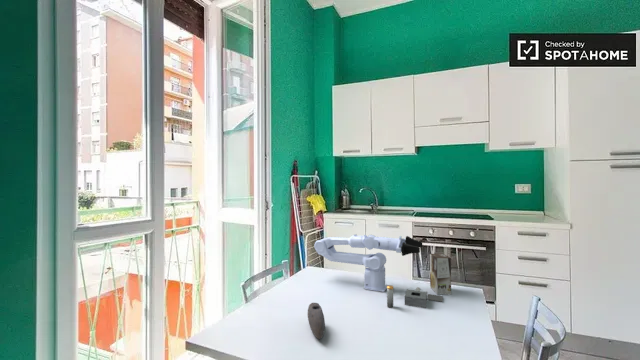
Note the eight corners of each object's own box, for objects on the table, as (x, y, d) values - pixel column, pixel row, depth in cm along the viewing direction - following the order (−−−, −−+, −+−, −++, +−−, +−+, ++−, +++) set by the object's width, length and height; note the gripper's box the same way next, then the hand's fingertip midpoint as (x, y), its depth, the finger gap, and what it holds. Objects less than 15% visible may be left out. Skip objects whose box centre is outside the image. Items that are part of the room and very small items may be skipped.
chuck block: (404, 304, 115) (404, 296, 115) (408, 291, 129) (408, 284, 129) (425, 308, 112) (425, 299, 112) (427, 294, 126) (427, 286, 126)
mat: (426, 300, 120) (426, 298, 120) (427, 295, 125) (427, 293, 125) (442, 302, 117) (442, 301, 117) (442, 297, 123) (442, 296, 123)
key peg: (386, 307, 113) (386, 286, 113) (387, 304, 115) (387, 284, 115) (392, 308, 112) (392, 287, 112) (394, 305, 114) (393, 285, 114)
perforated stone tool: (328, 343, 87) (328, 320, 88) (311, 344, 87) (311, 321, 87) (321, 320, 102) (321, 300, 102) (306, 321, 102) (306, 301, 102)
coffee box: (451, 294, 125) (451, 258, 126) (437, 294, 126) (436, 257, 126) (443, 287, 135) (443, 253, 135) (429, 287, 135) (429, 252, 135)
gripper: (385, 240, 124) (418, 243, 118) (393, 231, 137) (423, 233, 131) (386, 255, 125) (418, 259, 119) (393, 245, 138) (423, 248, 132)
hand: (421, 247), depth 125 cm, fingers open, 7 cm apart
